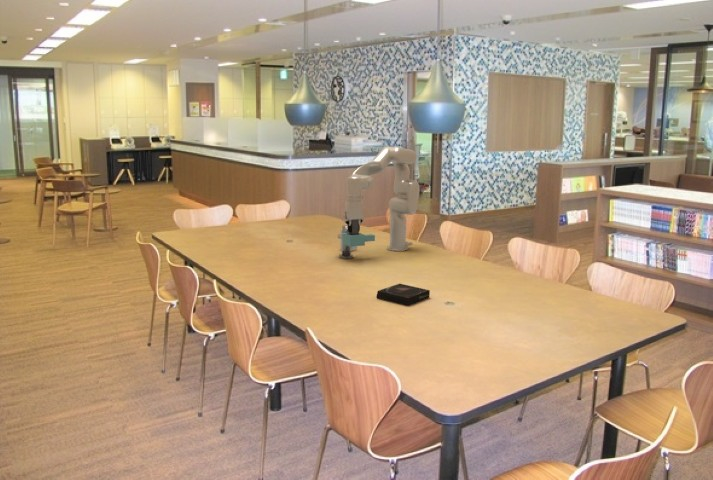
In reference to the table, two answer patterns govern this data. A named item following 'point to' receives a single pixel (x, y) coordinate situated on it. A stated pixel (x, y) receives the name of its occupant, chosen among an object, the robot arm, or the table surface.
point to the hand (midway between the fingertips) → (353, 231)
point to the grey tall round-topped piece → (345, 248)
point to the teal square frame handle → (356, 239)
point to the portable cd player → (403, 294)
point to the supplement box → (350, 248)
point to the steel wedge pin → (355, 227)
